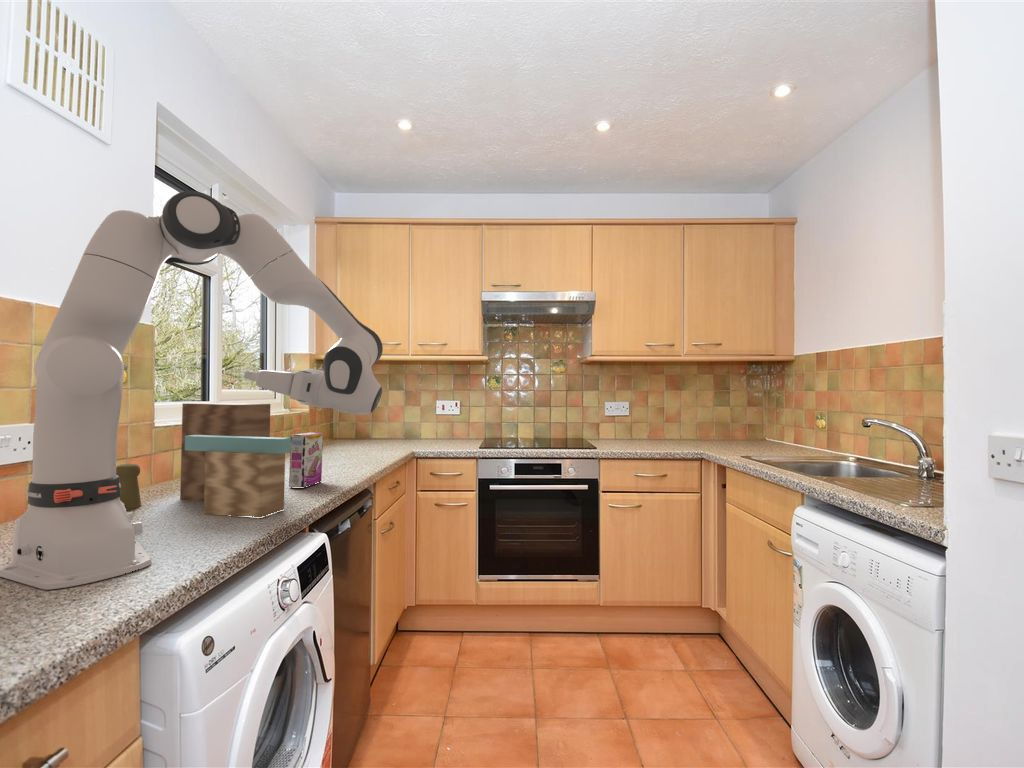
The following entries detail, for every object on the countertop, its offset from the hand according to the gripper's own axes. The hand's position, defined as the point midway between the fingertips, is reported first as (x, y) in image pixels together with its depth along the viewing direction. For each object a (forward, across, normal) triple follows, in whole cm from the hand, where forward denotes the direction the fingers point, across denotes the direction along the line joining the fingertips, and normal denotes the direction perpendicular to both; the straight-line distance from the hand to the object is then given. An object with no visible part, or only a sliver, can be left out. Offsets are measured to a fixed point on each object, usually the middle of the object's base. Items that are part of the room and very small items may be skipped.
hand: (255, 376), depth 118 cm
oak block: (-3, -4, +33) cm, 34 cm away
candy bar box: (-5, -39, +32) cm, 50 cm away
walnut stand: (+11, -22, +35) cm, 43 cm away
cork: (+28, -8, +39) cm, 49 cm away
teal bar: (+2, -4, +19) cm, 19 cm away
